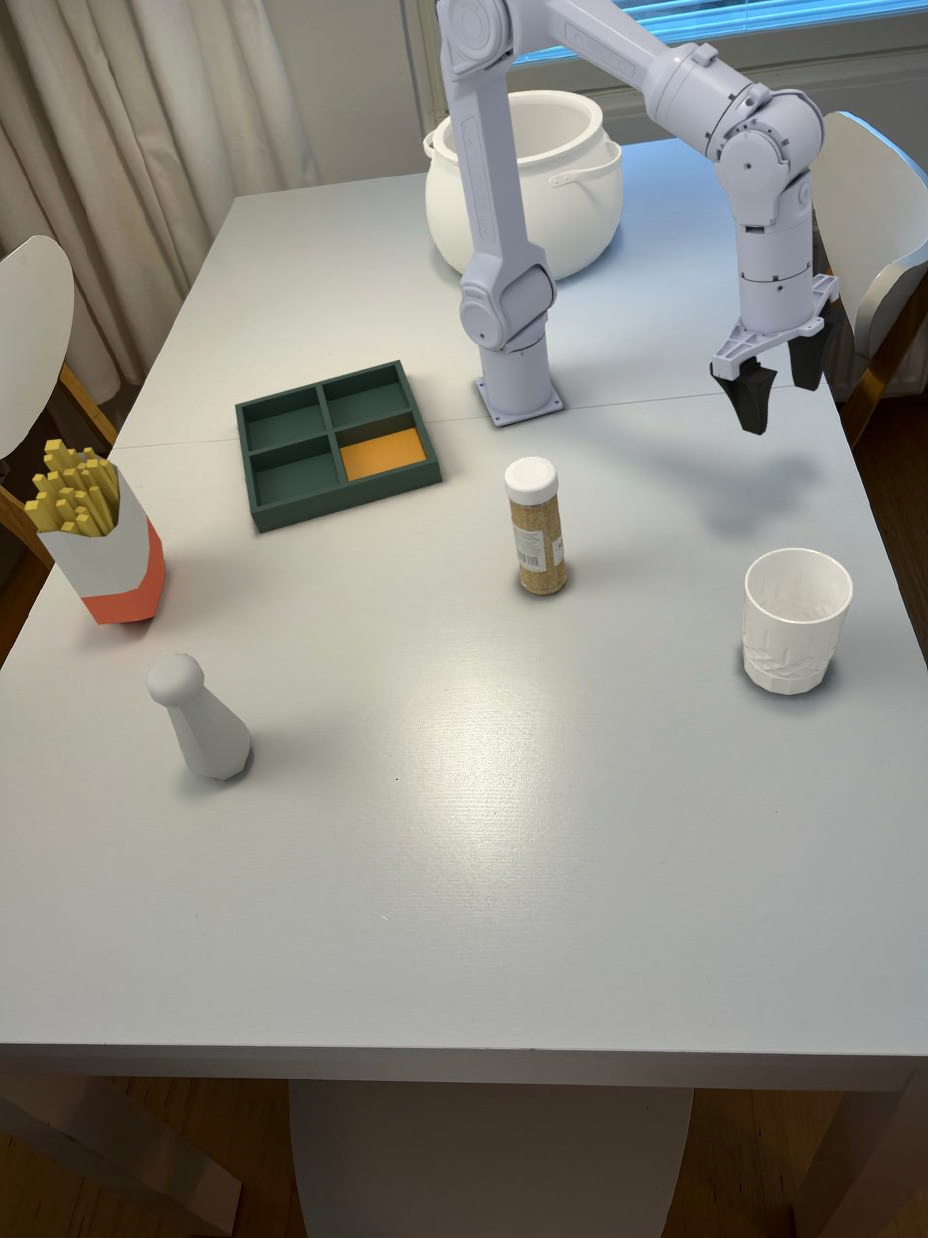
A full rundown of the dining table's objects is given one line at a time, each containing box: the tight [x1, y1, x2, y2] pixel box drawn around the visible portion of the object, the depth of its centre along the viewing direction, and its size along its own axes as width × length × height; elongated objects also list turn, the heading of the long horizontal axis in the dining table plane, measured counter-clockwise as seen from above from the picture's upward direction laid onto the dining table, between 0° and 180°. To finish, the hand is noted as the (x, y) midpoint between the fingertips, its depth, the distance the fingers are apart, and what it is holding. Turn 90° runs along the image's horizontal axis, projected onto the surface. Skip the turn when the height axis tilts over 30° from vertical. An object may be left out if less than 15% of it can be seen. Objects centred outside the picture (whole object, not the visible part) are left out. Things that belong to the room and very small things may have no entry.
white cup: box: [742, 547, 854, 696], centre depth 76 cm, size 8×8×10 cm
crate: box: [234, 359, 443, 534], centre depth 106 cm, size 20×20×3 cm
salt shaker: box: [144, 652, 252, 782], centre depth 77 cm, size 6×6×13 cm
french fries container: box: [24, 438, 166, 626], centre depth 90 cm, size 5×11×18 cm, turn 0°
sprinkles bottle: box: [503, 456, 568, 596], centre depth 85 cm, size 5×5×14 cm
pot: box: [422, 89, 624, 281], centre depth 125 cm, size 29×26×16 cm
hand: (780, 408), depth 85 cm, fingers open, 7 cm apart
